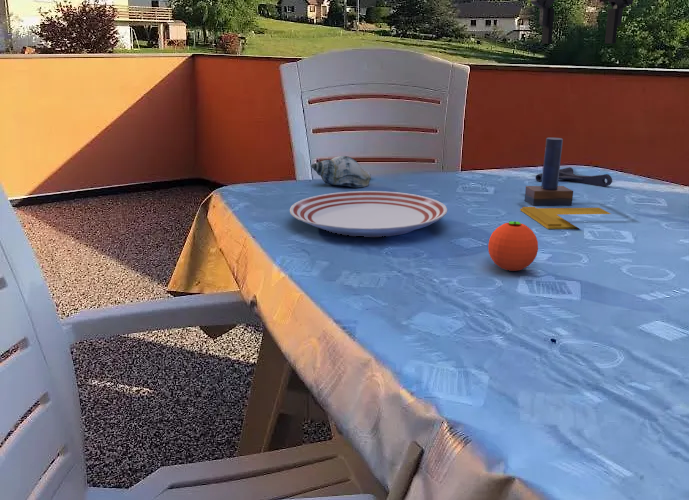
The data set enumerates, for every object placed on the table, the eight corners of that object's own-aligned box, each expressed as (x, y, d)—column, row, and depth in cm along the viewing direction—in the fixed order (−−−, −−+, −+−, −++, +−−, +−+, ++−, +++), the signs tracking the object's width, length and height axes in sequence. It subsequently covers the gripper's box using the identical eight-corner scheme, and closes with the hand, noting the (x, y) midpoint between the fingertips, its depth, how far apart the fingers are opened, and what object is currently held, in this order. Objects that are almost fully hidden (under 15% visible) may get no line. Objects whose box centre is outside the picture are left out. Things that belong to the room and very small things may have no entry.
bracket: (594, 191, 155) (596, 178, 154) (535, 180, 165) (536, 169, 165) (624, 183, 165) (626, 171, 164) (566, 174, 175) (568, 162, 174)
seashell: (364, 196, 154) (312, 190, 157) (373, 176, 159) (323, 171, 162) (361, 171, 149) (308, 166, 153) (371, 152, 155) (319, 148, 158)
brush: (561, 200, 146) (568, 136, 142) (571, 205, 141) (579, 140, 138) (524, 200, 145) (530, 136, 142) (533, 205, 141) (539, 140, 137)
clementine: (483, 259, 106) (487, 213, 104) (530, 261, 105) (535, 215, 103) (488, 276, 98) (492, 226, 96) (539, 278, 98) (544, 229, 96)
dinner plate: (297, 248, 110) (297, 227, 109) (284, 207, 136) (283, 190, 135) (467, 243, 114) (469, 223, 113) (423, 204, 140) (423, 188, 139)
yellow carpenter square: (599, 209, 138) (599, 205, 138) (634, 228, 125) (635, 223, 125) (520, 210, 137) (520, 206, 136) (547, 229, 123) (548, 224, 123)
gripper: (637, -69, 139) (625, 43, 145) (518, -73, 134) (511, 43, 140) (660, -76, 132) (647, 43, 138) (536, -80, 127) (527, 43, 133)
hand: (578, 43), depth 139 cm, fingers open, 13 cm apart
